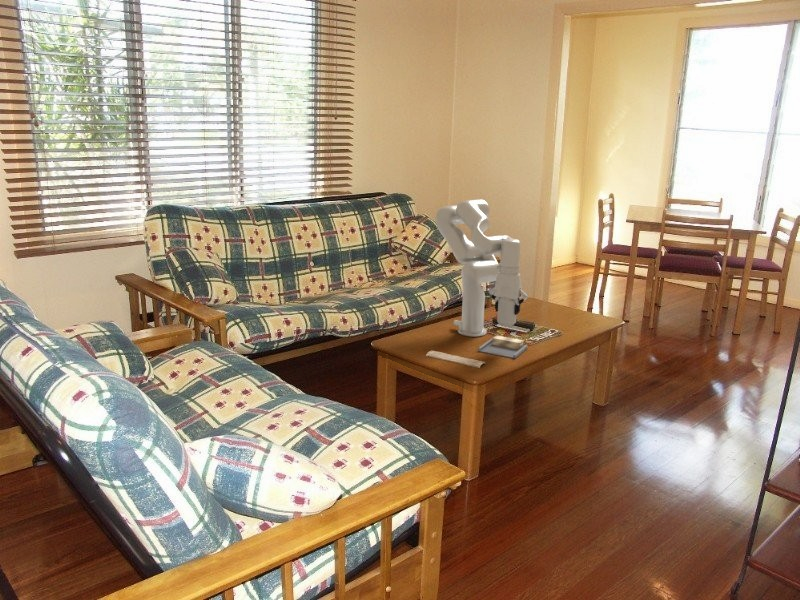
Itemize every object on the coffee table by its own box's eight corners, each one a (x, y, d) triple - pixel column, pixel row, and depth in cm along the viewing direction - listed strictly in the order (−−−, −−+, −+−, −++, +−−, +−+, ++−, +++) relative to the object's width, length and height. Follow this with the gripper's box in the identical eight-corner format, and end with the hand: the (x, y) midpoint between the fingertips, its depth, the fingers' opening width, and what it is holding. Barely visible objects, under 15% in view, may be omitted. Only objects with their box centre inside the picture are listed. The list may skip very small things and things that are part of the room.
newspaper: (425, 357, 283) (426, 353, 282) (434, 352, 289) (434, 348, 288) (479, 369, 271) (479, 365, 271) (487, 364, 277) (487, 359, 276)
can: (503, 319, 294) (504, 291, 291) (519, 323, 290) (520, 295, 286) (493, 323, 289) (495, 295, 285) (509, 327, 284) (511, 299, 281)
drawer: (478, 351, 288) (478, 348, 288) (491, 341, 300) (491, 338, 300) (515, 358, 281) (515, 355, 280) (527, 348, 293) (527, 345, 292)
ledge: (492, 345, 296) (492, 338, 295) (495, 342, 299) (496, 335, 298) (519, 350, 290) (520, 343, 289) (522, 347, 294) (523, 340, 293)
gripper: (485, 269, 284) (483, 311, 289) (527, 274, 276) (524, 318, 281) (492, 265, 290) (490, 307, 295) (533, 270, 282) (530, 313, 287)
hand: (507, 312), depth 288 cm, fingers closed on can, 7 cm apart
